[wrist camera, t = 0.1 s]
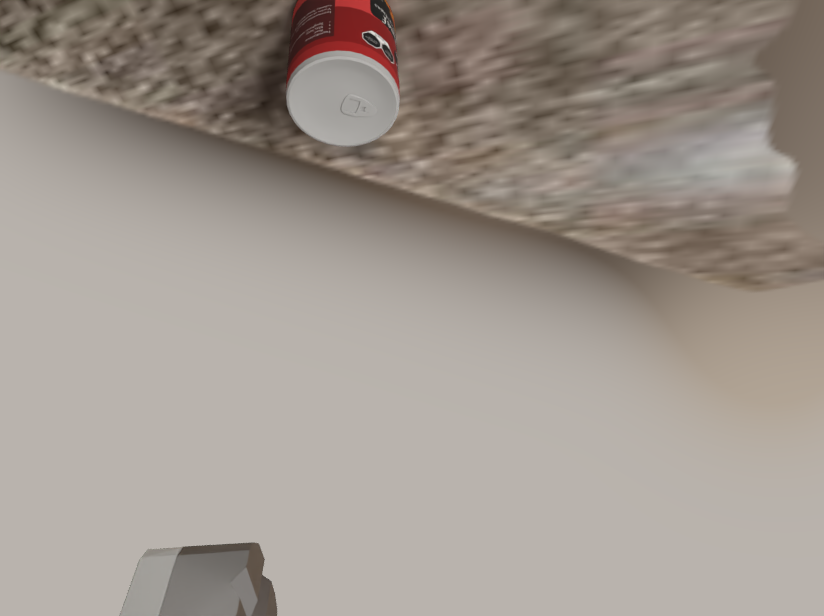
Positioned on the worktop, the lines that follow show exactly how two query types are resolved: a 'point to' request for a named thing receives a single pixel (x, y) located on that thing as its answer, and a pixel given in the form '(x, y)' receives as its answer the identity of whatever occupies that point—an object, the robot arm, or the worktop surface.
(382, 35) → the canned food
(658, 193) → the worktop surface
